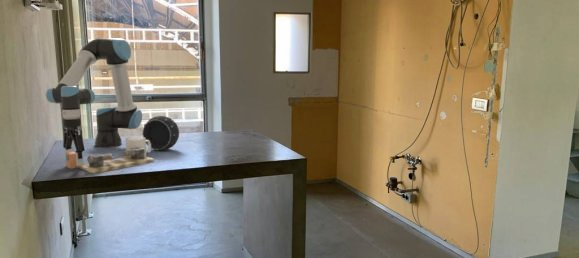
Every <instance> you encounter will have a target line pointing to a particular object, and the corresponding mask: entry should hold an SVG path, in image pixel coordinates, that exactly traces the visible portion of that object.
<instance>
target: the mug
mask: <svg viewBox="0 0 579 258" xmlns="http://www.w3.org/2000/svg"><path fill="white" fill-rule="evenodd" d="M146 142H147V143H148V145H147V144H146ZM147 146H148V149H147ZM131 148H144V149H145V153H144V156H145V157H147V154H149V153H151V151H152V149H151V143H150V141H149V140H146V138H145V137H143V136H129V137H126V138H125V151H127V150H131ZM127 157H129V156H127Z"/></svg>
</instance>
